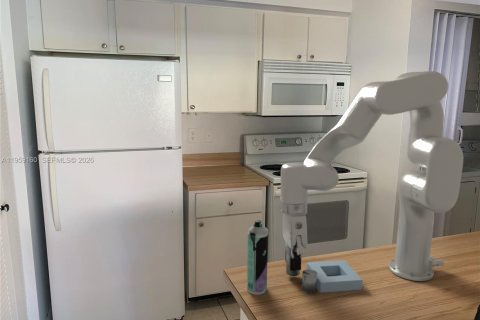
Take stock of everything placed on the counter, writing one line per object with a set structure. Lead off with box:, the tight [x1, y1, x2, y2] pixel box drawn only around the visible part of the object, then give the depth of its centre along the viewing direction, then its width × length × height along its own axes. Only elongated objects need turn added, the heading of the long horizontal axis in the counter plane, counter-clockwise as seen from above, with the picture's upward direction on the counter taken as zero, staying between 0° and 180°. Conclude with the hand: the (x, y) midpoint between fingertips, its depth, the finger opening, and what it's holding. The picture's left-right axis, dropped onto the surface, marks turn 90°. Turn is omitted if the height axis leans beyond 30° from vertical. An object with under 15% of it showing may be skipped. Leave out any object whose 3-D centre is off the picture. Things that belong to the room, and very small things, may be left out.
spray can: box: [246, 220, 269, 296], centre depth 100 cm, size 6×6×20 cm
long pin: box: [285, 242, 301, 277], centre depth 107 cm, size 4×4×10 cm
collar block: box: [305, 259, 363, 294], centre depth 107 cm, size 12×12×3 cm
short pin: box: [301, 269, 318, 294], centre depth 102 cm, size 4×4×5 cm
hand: (293, 265), depth 108 cm, fingers closed on long pin, 4 cm apart
